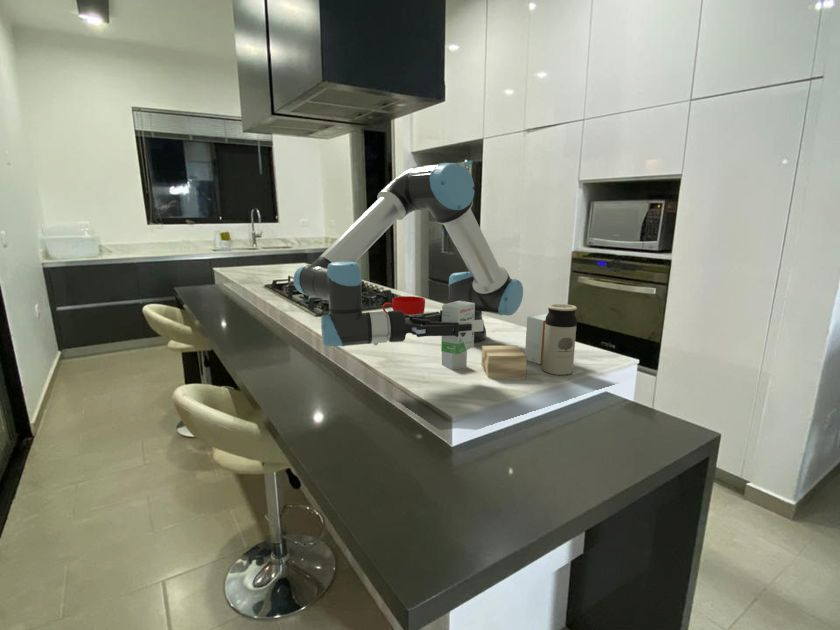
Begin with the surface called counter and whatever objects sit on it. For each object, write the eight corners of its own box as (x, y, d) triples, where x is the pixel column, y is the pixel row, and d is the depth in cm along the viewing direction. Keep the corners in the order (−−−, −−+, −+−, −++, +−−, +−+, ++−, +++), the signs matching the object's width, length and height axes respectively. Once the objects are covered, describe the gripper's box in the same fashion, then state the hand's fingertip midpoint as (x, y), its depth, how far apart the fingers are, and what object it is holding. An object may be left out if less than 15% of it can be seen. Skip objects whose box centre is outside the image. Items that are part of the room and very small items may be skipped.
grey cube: (441, 365, 127) (442, 348, 126) (456, 362, 129) (456, 345, 128) (451, 370, 123) (452, 352, 122) (466, 367, 125) (466, 350, 124)
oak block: (481, 366, 127) (481, 345, 125) (516, 365, 127) (517, 345, 126) (487, 378, 117) (488, 356, 116) (525, 377, 117) (526, 355, 116)
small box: (540, 365, 127) (543, 320, 125) (524, 359, 132) (526, 316, 130) (559, 360, 132) (562, 317, 129) (542, 355, 137) (545, 313, 134)
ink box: (457, 355, 108) (458, 307, 106) (440, 351, 111) (440, 305, 109) (474, 347, 115) (475, 302, 113) (458, 343, 118) (458, 299, 115)
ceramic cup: (379, 322, 180) (379, 297, 178) (419, 319, 185) (419, 295, 183) (386, 329, 168) (386, 303, 166) (429, 326, 173) (429, 301, 171)
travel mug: (540, 365, 127) (544, 303, 123) (569, 366, 126) (573, 303, 122) (544, 375, 119) (549, 308, 115) (575, 376, 118) (581, 309, 114)
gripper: (379, 331, 118) (460, 325, 124) (397, 354, 98) (492, 347, 103) (379, 303, 116) (461, 299, 122) (396, 321, 96) (493, 315, 102)
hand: (475, 321), depth 113 cm, fingers closed on ink box, 9 cm apart
